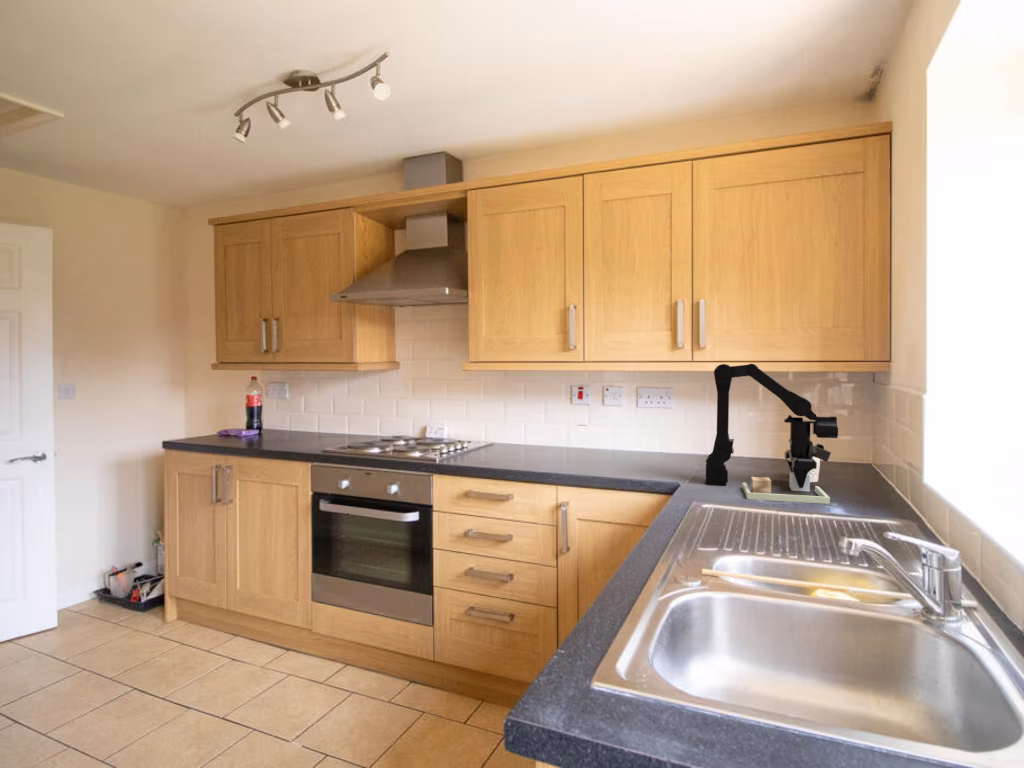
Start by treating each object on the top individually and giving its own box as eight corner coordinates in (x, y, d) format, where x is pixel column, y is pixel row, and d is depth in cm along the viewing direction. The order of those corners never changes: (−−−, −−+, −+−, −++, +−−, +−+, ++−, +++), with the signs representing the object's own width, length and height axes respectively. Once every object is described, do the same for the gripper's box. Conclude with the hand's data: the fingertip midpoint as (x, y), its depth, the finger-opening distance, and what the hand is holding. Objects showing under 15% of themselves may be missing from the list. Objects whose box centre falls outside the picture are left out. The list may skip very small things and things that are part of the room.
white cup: (812, 477, 201) (812, 449, 201) (825, 482, 194) (825, 452, 193) (789, 478, 201) (790, 449, 201) (801, 483, 193) (802, 453, 193)
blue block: (792, 490, 182) (792, 474, 182) (789, 487, 187) (789, 471, 187) (809, 491, 181) (809, 475, 181) (806, 487, 186) (806, 472, 185)
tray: (747, 499, 172) (747, 493, 172) (742, 488, 186) (742, 482, 186) (829, 503, 166) (830, 497, 166) (818, 492, 180) (818, 486, 180)
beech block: (752, 496, 176) (753, 480, 176) (751, 492, 181) (751, 476, 180) (770, 497, 174) (771, 480, 174) (768, 493, 179) (768, 477, 179)
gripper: (836, 442, 172) (835, 494, 173) (821, 434, 190) (821, 481, 190) (794, 440, 175) (793, 492, 176) (784, 432, 193) (784, 479, 194)
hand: (799, 485), depth 184 cm, fingers closed on blue block, 5 cm apart
